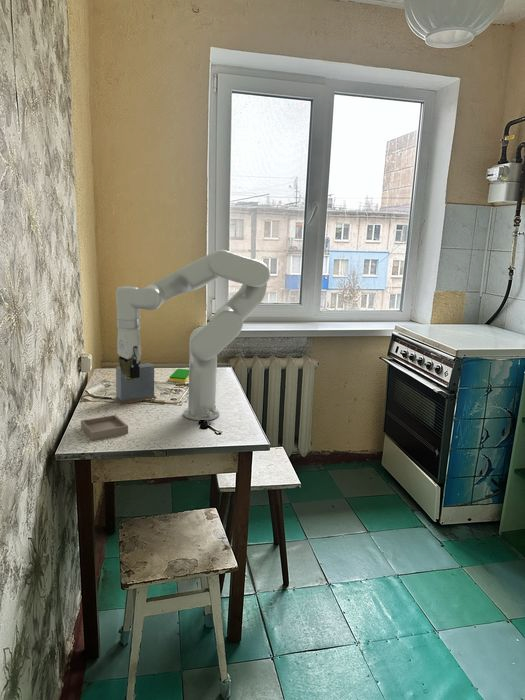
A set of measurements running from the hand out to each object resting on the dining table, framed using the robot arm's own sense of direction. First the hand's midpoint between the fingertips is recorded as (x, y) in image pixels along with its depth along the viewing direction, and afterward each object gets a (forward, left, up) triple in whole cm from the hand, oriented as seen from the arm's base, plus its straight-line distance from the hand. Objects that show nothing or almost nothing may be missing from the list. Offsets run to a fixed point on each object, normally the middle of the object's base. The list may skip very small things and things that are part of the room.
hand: (130, 374), depth 165 cm
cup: (0, 0, -2) cm, 2 cm away
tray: (-10, +13, -14) cm, 21 cm away
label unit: (+14, -7, -14) cm, 22 cm away
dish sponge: (+33, -36, -15) cm, 52 cm away
